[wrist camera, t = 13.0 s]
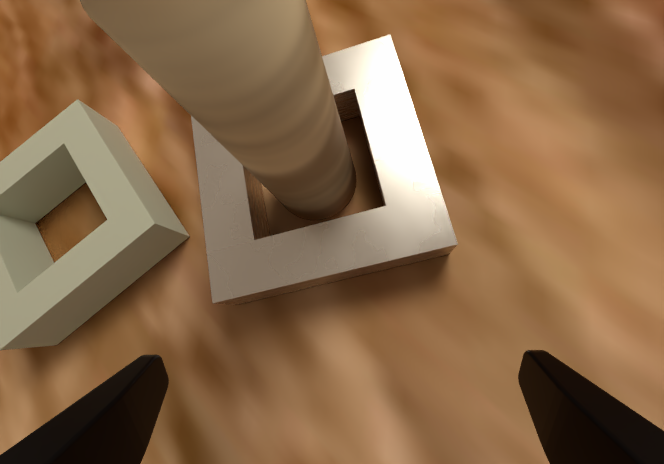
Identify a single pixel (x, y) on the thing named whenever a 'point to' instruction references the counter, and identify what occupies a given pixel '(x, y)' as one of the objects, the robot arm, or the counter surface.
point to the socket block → (338, 234)
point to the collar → (93, 251)
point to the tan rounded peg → (246, 87)
